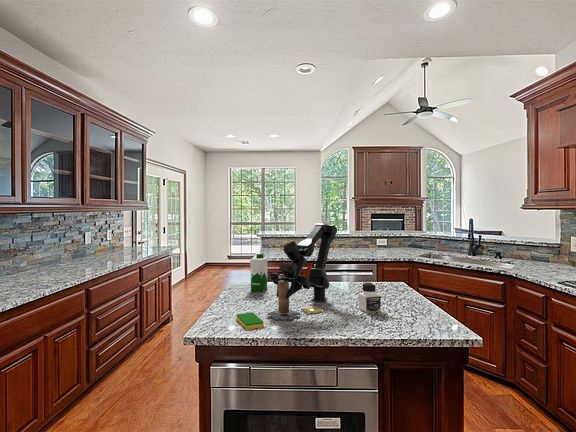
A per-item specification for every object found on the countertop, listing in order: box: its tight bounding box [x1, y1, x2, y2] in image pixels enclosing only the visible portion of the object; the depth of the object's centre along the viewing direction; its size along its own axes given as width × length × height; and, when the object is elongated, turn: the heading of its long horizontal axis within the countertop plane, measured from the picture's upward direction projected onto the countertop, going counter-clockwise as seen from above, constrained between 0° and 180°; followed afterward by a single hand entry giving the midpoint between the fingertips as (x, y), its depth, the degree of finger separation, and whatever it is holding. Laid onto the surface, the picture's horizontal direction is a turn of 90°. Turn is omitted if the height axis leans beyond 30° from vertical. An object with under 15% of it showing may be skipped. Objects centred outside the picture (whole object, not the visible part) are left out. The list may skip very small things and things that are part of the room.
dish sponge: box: [236, 311, 265, 330], centre depth 133 cm, size 7×14×2 cm, turn 24°
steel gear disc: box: [266, 308, 301, 322], centre depth 141 cm, size 14×14×1 cm
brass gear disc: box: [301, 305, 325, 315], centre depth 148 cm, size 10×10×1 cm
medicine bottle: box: [358, 281, 382, 314], centre depth 148 cm, size 7×7×12 cm
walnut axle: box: [277, 280, 290, 314], centre depth 141 cm, size 4×4×13 cm
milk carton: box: [249, 253, 268, 293], centre depth 188 cm, size 9×9×20 cm
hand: (281, 297), depth 140 cm, fingers closed on walnut axle, 4 cm apart
